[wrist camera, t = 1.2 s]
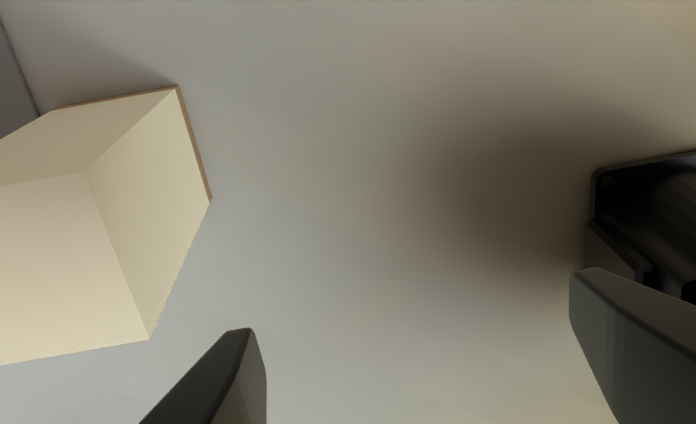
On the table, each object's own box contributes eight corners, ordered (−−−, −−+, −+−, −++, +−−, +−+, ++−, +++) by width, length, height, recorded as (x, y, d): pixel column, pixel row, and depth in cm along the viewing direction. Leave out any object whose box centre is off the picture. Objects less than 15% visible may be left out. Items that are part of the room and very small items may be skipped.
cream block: (178, 84, 20) (82, 172, 12) (212, 197, 22) (149, 340, 14) (57, 106, 20) (-121, 208, 12) (101, 216, 22) (-27, 369, 14)
